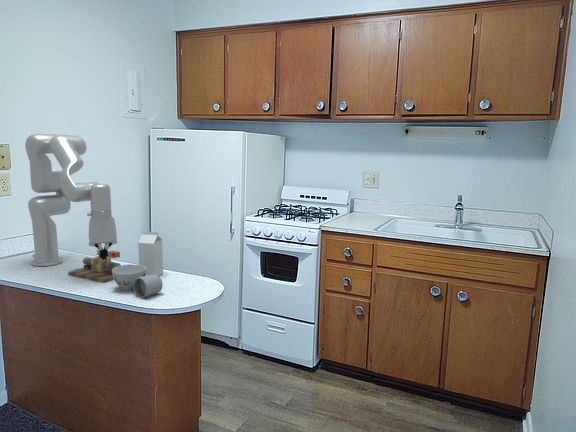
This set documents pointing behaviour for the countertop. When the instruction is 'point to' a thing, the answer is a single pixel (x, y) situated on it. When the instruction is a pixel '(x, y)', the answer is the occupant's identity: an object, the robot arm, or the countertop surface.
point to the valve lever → (111, 254)
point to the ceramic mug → (147, 285)
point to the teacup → (128, 275)
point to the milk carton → (151, 253)
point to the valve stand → (96, 269)
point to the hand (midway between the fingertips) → (104, 258)
